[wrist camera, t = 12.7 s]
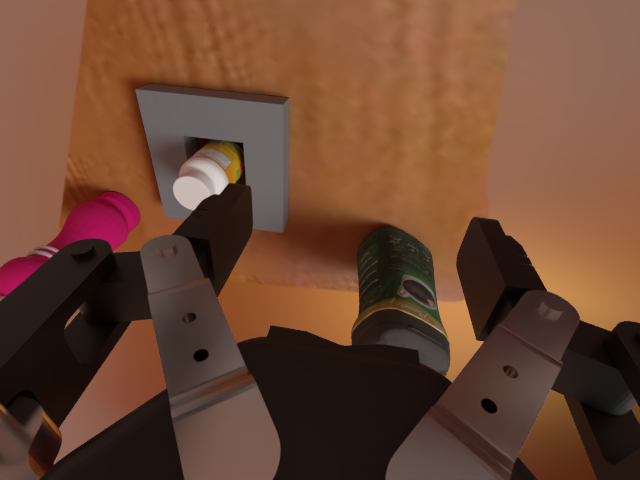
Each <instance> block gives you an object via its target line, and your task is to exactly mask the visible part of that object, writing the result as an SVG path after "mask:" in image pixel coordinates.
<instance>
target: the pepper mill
mask: <svg viewBox="0 0 640 480" xmlns="http://www.w3.org/2000/svg"><path fill="white" fill-rule="evenodd" d="M139 221H140V214H139V211H138V208H137V207H136V206H135V204H134V203H133V202H132V201H131V200H130V199H129V198H127V197H126V196H124V195H122V194H120V193H117V192H104V193H102V194H101V195H100V196H98V197H97V198H95V199H94V200H93V201H87V202H84V203H82V204H80V205H78V206H77V207H76V208H75V209H74V210H72V212H71V213H70V214H69V216H68V217H67V219H66V222H65V224H64V226H63V228H62V230H61V232H60V233H59V235H58V236H57V237H56V238H55V239H54V240H53V241H52V242H51V243H49V244H48V245H46V246H38V247H36V248H35V249H34V250H33V251H31V252H29V253H28V254H27V256H26V257H18V258H15V259H12V260H10V261H8V262H7V263H5V264H4V265H3V266H2V267H1V268H0V301H1V300H2V299H3V298H5V297H6V296H7V295H8V294H9V293H10V292H12V291H13V290H14V289H15V288H16V287H17V286H18V285H20V284H21V283H22V282H23V281H24V280H25V279H27V278H28V277H29V276H30V275H31V274H32V273H33V272H35V271H36V270H37V269H38V268H39V267H40V266H42V265H43V264H44V263H45V262H46V261H47V260H48V259H50V258H51V257H52V256H53V255H54V254H55V253H57V252H58V251H59V250H60V249H61V248H63V247H64V246H66V245H68V244H70V243H73V242H75V241H79V240H83V239H91V238H96V239H103V240H105V241H107V242H109V243H110V245H111V247H112V250H115V249H117V248H118V247H120V246H121V245H122V244H123V243H124V242H125V241H126V240H127V237H128V233H129V232H131V231H132V230H133V229H134V228H135V227H136V226H137V225H138V224H139Z"/></svg>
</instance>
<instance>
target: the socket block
mask: <svg viewBox="0 0 640 480" xmlns="http://www.w3.org/2000/svg"><path fill="white" fill-rule="evenodd" d="M135 91H136V95H137V99H138V103H139V108H140V112H141V116H142V120H143V125H144V129H145V133H146V137H147V142H148V146H149V150H150V154H151V159H152V163H153V167H154V171H155V175H156V180H157V184H158V188H159V192H160V197H161V201H162V205H163V209H164V214H165V217H167V218H175V219H182V220H186V218H187V217H188V216H190V214H191V213H192V212H193V210H190V209H188V208H186V207H184V206H183V205H181V204H180V203H179V202H178V200H177V199H176V198H175V196H174V193H173V184H174V182H175V181H176V179H177V178H178V177H179V172H180V169H181V167H182V165H183V164H184V163H185V162H186V161H187V160H188V159H189V158H191V157H192V156H193V155H194V154H195V153H196V152H198V147H197V140H196V137H198V138H207V139H215V140H224V141H233V142H241V143H243V147H244V161H245V176H246V185H249V186H250V187H251V191H252V210H253V229H256V230H263V231H270V232H278V233H283V232H284V229H285V227H286V225H287V222H288V171H289V98H286V97H277V96H267V95H257V94H248V93H238V92H228V91H219V90H209V89H199V88H190V87H180V86H170V85H161V84H151V83H150V84H148V85H145V86H142V87H140V88H137V89H135Z"/></svg>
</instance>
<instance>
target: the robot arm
mask: <svg viewBox="0 0 640 480" xmlns="http://www.w3.org/2000/svg"><path fill="white" fill-rule="evenodd" d="M252 229H253V210H252V191H251V187H250V186H249V185H242V184H234V183H229V184H228V185H227V186H226V187H225V188H224V190H223V191H222V192H221V193H220V195H218V194H213V195H211V196H209V197H207V198H205V199H204V200H202V201H201V202H200V204H199V205H198V206H197V207H196V209H194V210H193V212H192V213H191V214H190V216H188V217H187V218H186V220H185V221H184V222H183V223H182V224H181V225H180V226H179V228H178V229H177V230H176V231H175V232H174V233H173V234H172V235H165V236H160V237H157V238H154V239H152V240H150V241H148V242H147V243H146V244H144V245H143V247H142V248H141V251H137V252H121V253H113V250H112V247H111V245H110V243H109V242H107V241H105V240H103V239H96V238H91V239H83V240H79V241H75V242H73V243H70V244H68V245H66V246H64V247H63V248H61V249H60V250H59V251H58V252H57V253H55V254H54V255H53V256H52V257H51V258H50V259H48V260H47V261H46V262H45V263H44V264H43V265H42V266H40V267H39V268H38V269H37V270H36V271H35V272H33V273H32V274H31V275H30V276H29V277H28V278H27V279H25V280H24V281H23V282H22V283H21V284H20V285H18V286H17V287H16V288H15V289H14V290H13V291H12V292H10V293H9V294H8V295H7V296H6V297H5V298H3V299H2V300H1V301H0V480H538V479H537V478H536V477H535V476H534V475H533V474H532V473H531V471H530V470H529V469H528V468H527V467H526V466H525V464H524V463H523V462H522V461H521V460H520V459H519V458H518V455H519V453H520V451H521V449H522V447H523V445H524V443H525V440H526V438H527V437H528V434H529V432H530V430H531V428H532V426H533V424H534V422H535V420H536V418H537V416H538V414H539V412H540V410H541V408H542V406H543V404H544V402H545V400H546V398H547V396H548V394H549V392H550V390H554V391H556V392H558V393H561V394H563V395H564V396H565V399H566V402H567V404H568V407H569V409H570V412H571V414H572V417H573V419H574V422H575V425H576V427H577V430H578V432H579V435H580V437H581V440H582V442H583V445H584V447H585V450H586V452H587V455H588V457H589V460H590V462H591V465H592V467H593V470H594V473H595V475H596V478H597V480H640V424H639V423H638V421H637V419H636V417H635V416H634V413H633V412H632V410H631V408H633V407H634V406H635V405H636V404H637V403H638V405H639V407H640V323H637V322H631V321H624V322H621V323H619V324H617V326H616V327H615V328H614V329H613V330H612V331H608V330H605V329H603V328H600V327H597V326H594V325H592V324H589V323H586V322H583V321H581V320H580V316H579V314H578V312H577V310H576V309H575V308H574V307H573V306H572V305H571V304H570V303H569V302H568V301H566V300H565V299H563V298H562V297H560V296H558V295H556V294H554V293H551V292H548V291H547V290H546V288H545V286H544V284H543V283H542V281H541V279H540V277H539V275H538V274H537V272H536V270H535V268H534V267H533V266H532V263H531V261H530V259H529V258H527V254H526V252H525V251H524V249H523V247H522V246H521V245H520V244H519V243H518V242H517V241H516V240H515V239H513V238H512V237H511V236H507V235H505V233H504V231H503V229H502V227H501V225H500V223H499V222H498V221H497V220H494V219H486V218H479V217H474V218H473V219H472V220H471V222H470V224H469V226H468V229H467V231H466V234H465V236H464V239H463V242H462V244H461V247H460V249H459V252H458V255H457V262H456V266H457V271H458V275H459V278H460V282H461V286H462V289H463V293H464V296H465V300H466V304H467V307H468V311H469V315H470V318H471V322H472V325H473V329H474V333H475V336H476V340H479V341H484V343H483V344H482V345H481V346H480V348H479V349H478V350H477V352H476V353H475V354H474V356H473V357H472V358H471V359H470V361H469V362H468V363H467V365H466V366H465V367H464V368H463V370H462V371H461V372H460V373H459V375H458V376H457V377H456V379H455V380H454V381H453V382H451V381H449V380H448V379H447V378H446V377H444V376H443V375H442V374H440V373H439V372H437V371H436V370H434V369H432V368H430V367H428V366H426V365H424V364H422V363H420V361H419V351H418V350H415V349H409V348H403V347H397V346H391V345H385V344H370V345H351V346H343V345H339V344H336V343H334V342H331V341H329V340H326V339H324V338H321V337H319V336H316V335H314V334H311V333H309V332H306V331H300V330H295V329H289V328H283V327H277V326H270V329H269V332H268V335H267V337H258V338H252V339H248V340H245V341H242V342H239V343H237V344H236V341H235V339H234V337H233V334H232V332H231V329H230V327H229V325H228V322H227V320H226V318H225V315H224V313H223V310H222V308H221V306H220V303H219V301H218V298H217V297H218V295H219V294H220V292H221V290H222V288H223V286H224V285H225V283H226V281H227V279H228V277H229V275H230V273H231V272H232V270H233V268H234V266H235V264H236V262H237V261H238V259H239V257H240V255H241V253H242V251H243V250H244V248H245V246H246V244H247V242H248V240H249V238H250V236H251V233H252ZM78 308H79V310H80V312H79V313H78V315H77V316H76V317H75V318H74V319H73V320H72V322H71V323H70V324H69V325H68V326H67V327H66V329H65V326H66V323H67V321H68V320H69V318H70V317H71V316H72V315H73V314H74V313H75V312H76V310H77V309H78ZM145 319H152V320H153V324H154V329H155V334H156V339H157V343H158V348H159V353H160V358H161V362H162V367H163V372H164V377H165V381H166V387H167V389H165V390H164V391H162V392H160V393H159V394H158V395H156V396H154V397H153V398H152V399H150V400H149V401H147V402H146V403H144V404H142V405H141V406H140V407H138V408H136V409H135V410H134V411H132V412H131V413H129V414H128V415H126V416H124V417H123V418H121V419H120V420H118V421H117V422H115V423H114V424H112V425H111V426H109V427H108V428H106V429H105V430H103V431H102V432H101V433H99V434H97V435H96V436H94V437H93V438H91V439H90V440H88V441H87V442H85V443H84V444H82V445H81V446H79V447H78V448H76V449H75V450H73V451H72V452H70V453H69V454H68V455H66V456H65V457H63V458H62V459H61V460H59V461H58V462H57V463H56V464H55V465H54V461H55V459H56V457H57V455H58V453H59V451H60V447H61V444H62V434H61V431H60V430H59V427H60V426H61V424H62V422H63V421H64V420H65V418H66V417H67V415H68V414H69V412H70V411H71V409H72V408H73V407H74V405H75V404H76V402H77V401H78V399H79V398H80V396H81V395H82V393H83V392H84V390H85V389H86V387H87V386H88V384H89V383H90V382H91V380H92V379H93V377H94V376H95V374H96V373H97V371H98V370H99V368H100V367H101V366H102V364H103V363H104V361H105V360H106V358H107V357H108V355H109V354H110V352H111V351H112V349H113V348H114V346H115V345H116V343H117V342H118V341H119V339H120V338H121V336H122V335H123V333H124V332H125V330H126V329H127V327H128V326H129V324H130V323H131V321H135V320H145ZM64 329H65V330H64Z"/></svg>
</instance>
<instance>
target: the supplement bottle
mask: <svg viewBox="0 0 640 480" xmlns="http://www.w3.org/2000/svg"><path fill="white" fill-rule="evenodd" d="M244 170H245V161H244V153H243V151H242V149H241V148H240V147H239V146H238V145H237V144H236V143H235V142H233V141H224V140H215V139H213V140H211V141H210V142H208V143H207V144H206V145H205V146H204V147H202V148H201V149H200V150H199V151H198V152H196V153H195V154H194V155H193V156H192V157H191V158H189V159H188V160H187V161H186V162H185V163H184V164H183V165H182V167H181V169H180V172H179V177H178V178H177V179H176V181H175V182H174V184H173V193H174V196H175V198H176V199H177V200H178V202H179V203H180V204H181V205H183V206H184V207H186V208H188V209H190V210H194V209H196V207H197V206H198V205H199V204H200V202H201V201H202V200H204V199H205V198H207V197H209V196H211V195H213V194H218V195H220V193H221V192H222V191H223V190H224V188H225V187H226V186H227V185H228V184H229V183H234V184H235V183H236V181H237V180H238V179H239V177H240V176H241V175H242V174H243V172H244Z"/></svg>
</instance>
